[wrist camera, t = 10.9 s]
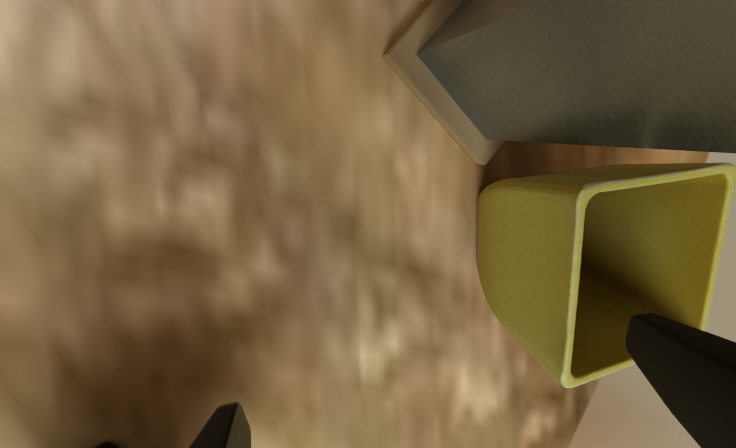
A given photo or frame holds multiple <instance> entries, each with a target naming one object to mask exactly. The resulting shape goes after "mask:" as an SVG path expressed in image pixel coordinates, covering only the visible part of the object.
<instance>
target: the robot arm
mask: <svg viewBox="0 0 736 448" xmlns="http://www.w3.org/2000/svg"><path fill="white" fill-rule="evenodd" d="M624 343H625V348H626V350H627V352H628V353H629V355H630V356H631V358H632V359H633V360H634V362H635V363H636V364H637V366H638V367H639V369H640V370H641V371H642V373H643V374H644V375H645V377H646V378H647V380H648V381H649V382H650V384H651V385H652V386H653V388H654V389H655V391H656V392H657V393H658V395H659V396H660V398H661V399H662V400H663V402H664V403H665V405H666V406H667V407H668V408H669V410H670V411H671V413H672V414H673V415H674V416H675V417H676V419H677V420H678V421H679V422H680V423H681V425H682V426H683V427H684V428H685V429H686V430H687V432H688V433H689V434H690V435H691V436H692V438H693V439H694V440H695V441H696V442H697V443H698V445H699V446H700V447H701V448H736V343H735V342H733V341H730V340H727V339H724V338H722V337H719V336H716V335H713V334H710V333H708V332H705V331H703V330H700V329H697V328H694V327H692V326H689V325H686V324H683V323H681V322H678V321H675V320H672V319H670V318H667V317H664V316H661V315H659V314H656V313H653V312H643V313H639V314H634V315H632V316H631V317H630V319H629V322H628V326H627V331H626V335H625V340H624ZM96 448H118V447H117V446H116V445H114V444H113V443H103V444H101V445H99V446H97V447H96ZM189 448H251V431H250V426H249V424H248V421H247V419H246V416H245V414H244V411H243V409H242V406H241V404H240V403H238V402H234V403H229V404H224V405H221V406H219V407H218V408H217V409H216V410H215V412H214V413H213V415H212V416H211V417H210V419H209V420H208V422H207V423H206V425H205V426H204V427H203V429H202V430H201V432H200V433H199V434H198V436H197V437H196V439H195V440H194V441H193V443H192V444H191V446H190V447H189Z"/></svg>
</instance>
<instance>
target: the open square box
mask: <svg viewBox="0 0 736 448" xmlns="http://www.w3.org/2000/svg"><path fill="white" fill-rule="evenodd" d="M417 56H418V57H419V58H420V59H421V61H422V62H423V63H424V64H425V66H426V67H427V68H428V69H429V70H430V72H431V73H432V74H433V75H434V77H435V78H436V79H437V80H438V81H439V83H440V84H441V85H442V86H443V88H444V89H445V90H446V91H447V92H448V94H449V95H450V96H451V97H452V99H453V100H454V101H455V102H456V103H457V105H458V106H459V107H460V108H461V110H462V111H463V112H464V113H465V114H466V116H467V117H468V118H469V119H470V121H471V122H472V123H473V124H474V126H475V127H476V128H477V129H478V130H479V132H480V133H481V134H482V135H483V137H484V138H485V139H486V140H504V141H522V142H541V143H559V144H577V145H595V146H613V147H632V148H650V149H668V150H686V151H704V152H723V153H736V0H463V1H462V2H461V3H460V4H459V5H458V6H457V8H456V9H455V10H454V11H453V12H452V13H451V14H450V16H449V17H448V18H447V19H446V20H445V21H444V23H443V24H442V25H441V26H440V27H439V28H438V29H437V31H436V32H435V33H434V34H433V35H432V36H431V38H430V39H429V40H428V41H427V42H426V43H425V44H424V46H423V47H422V48H421V49H420V50H419V51H418V53H417Z"/></svg>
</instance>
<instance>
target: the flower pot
mask: <svg viewBox="0 0 736 448" xmlns="http://www.w3.org/2000/svg"><path fill="white" fill-rule="evenodd" d="M735 180H736V166H735V165H733V164H731V163H677V164H621V165H609V166H601V167H594V168H588V169H582V170H575V171H568V172H560V173H553V174H545V175H536V176H527V177H518V178H509V179H503V180H499V181H496V182H494V183H492V184H490V185H489V186H487V187H486V188H485V189H484V190H483V191H482V192H481V193H480V195H479V198H478V243H477V268H478V273H479V277H480V282H481V285H482V289H483V292H484V295H485V297H486V300H487V302H488V304H489V306H490V308H491V310H492V311H493V313H494V314H495V316H496V317H497V319H498V320H499V321H500V322H501V324H502V325H503V326H504V327H505V328H506V329H507V330H508V331H509V332H510V333H511V334H512V335H513V336H514V337H515V338H516V339H517V340H518V341H519V342H520V343H521V344H522V345H523V346H524V347H525V348H526V349H527V350H528V351H529V352H530V353H531V354H532V355H533V356H534V357H535V358H536V359H537V360H538V361H539V362H540V363H541V364H542V365H543V366H544V367H545V368H546V369H547V370H548V371H549V372H550V373H551V374H552V375H553V376H554V377H555V378H556V379H557V380H558V381H559V383H561V384H562V385H563V386H564V387H565V388H571V387H575V386H578V385H581V384H584V383H587V382H589V381H592V380H595V379H597V378H600V377H602V376H604V375H607V374H610V373H613V372H616V371H618V370H621V369H623V368H626V367H627V366H630V365H633V364H636V363H635V362H634V360H633V359H632V358H631V356H630V355H629V353H628V352H627V350H626V348H625V343H624V340H625V335H626V331H627V326H628V322H629V319H630V317H631V316H632V315H634V314H639V313H643V312H653V313H656V314H659V315H661V316H664V317H667V318H670V319H672V320H675V321H678V322H681V323H683V324H686V325H689V326H692V327H694V328H697V329H700V330H703V331H706V327H707V323H708V318H709V312H710V307H711V301H712V296H713V291H714V285H715V280H716V275H717V270H718V266H719V260H720V255H721V249H722V245H723V240H724V236H725V229H726V224H727V219H728V216H729V210H730V205H731V200H732V196H733V191H734V186H735Z"/></svg>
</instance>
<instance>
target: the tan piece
mask: <svg viewBox="0 0 736 448" xmlns="http://www.w3.org/2000/svg"><path fill="white" fill-rule="evenodd" d="M462 1H463V0H431V1H430V2H429V4H428V5H427V6H426V7H425V8H424V9H423V10H422V12H421V13H420V14H419V15H418V16H417V17H416V18H415V20H414V21H413V22H412V23H411V24H410V25H409V27H408V28H407V29H406V30H405V31H404V32H403V33H402V35H401V36H400V37H399V38H398V39H397V40H396V41H395V43H394V44H393V45H392V46H391V47H390V48H389V49H388V51H387V52H386V53H385V54H384V55H383V56H382V57H383V58H384V59H385V60H386V61H387V63H388V64H389V65H390V66H391V67H392V68H393V70H394V71H395V72H396V73H397V74H398V75H399V77H400V78H401V79H402V80H403V81H404V82H405V83H406V85H407V86H408V87H409V88H410V89H411V90H412V92H413V93H414V94H415V95H416V96H417V97H418V98H419V100H420V101H421V102H422V103H423V104H424V105H425V107H426V108H427V109H428V110H429V111H430V112H431V114H432V115H433V116H434V117H435V118H436V119H437V120H438V122H439V123H440V124H441V125H442V126H443V127H444V129H445V130H446V131H447V132H448V133H449V134H450V136H451V137H452V138H453V139H454V140H455V141H456V142H457V144H458V145H459V146H460V147H461V148H462V149H463V151H464V152H465V153H466V154H467V155H468V156H469V157H470V159H471V160H472V161H473V162H474V163H475V164H481V165H485V164H486V163H487V162H488V161H489V160H490V159H491V157H492V156H493V155H494V154H495V153H496V152H497V150H498V149H499V148H500V147H501V146H502V145H503V143H504V142H505V141H504V140H486V139H485V138H484V137H483V135H482V134H481V133H480V132H479V130H478V129H477V128H476V127H475V126H474V124H473V123H472V122H471V121H470V119H469V118H468V117H467V116H466V114H465V113H464V112H463V111H462V110H461V108H460V107H459V106H458V105H457V103H456V102H455V101H454V100H453V99H452V97H451V96H450V95H449V94H448V92H447V91H446V90H445V89H444V88H443V86H442V85H441V84H440V83H439V81H438V80H437V79H436V78H435V77H434V75H433V74H432V73H431V72H430V70H429V69H428V68H427V67H426V66H425V64H424V63H423V62H422V61H421V59H420V58H419V57H418V56H417V53H418V51H419V50H420V49H421V48H422V47H423V46H424V44H425V43H426V42H427V41H428V40H429V39H430V38H431V36H432V35H433V34H434V33H435V32H436V31H437V29H438V28H439V27H440V26H441V25H442V24H443V23H444V21H445V20H446V19H447V18H448V17H449V16H450V14H451V13H452V12H453V11H454V10H455V9H456V8H457V6H458V5H459V4H460V3H461V2H462Z"/></svg>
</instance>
